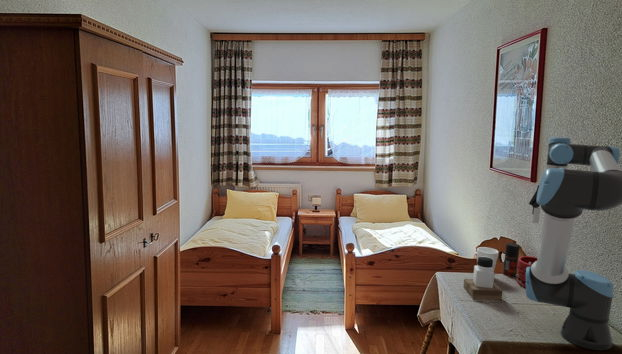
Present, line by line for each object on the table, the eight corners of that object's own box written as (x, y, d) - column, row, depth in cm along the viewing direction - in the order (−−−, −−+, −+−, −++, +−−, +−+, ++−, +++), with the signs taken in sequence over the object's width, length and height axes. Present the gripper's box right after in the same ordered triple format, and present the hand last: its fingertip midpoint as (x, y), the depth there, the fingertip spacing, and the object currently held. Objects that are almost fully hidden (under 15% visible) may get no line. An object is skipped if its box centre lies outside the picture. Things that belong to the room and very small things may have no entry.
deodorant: (501, 274, 215) (504, 244, 213) (504, 271, 220) (507, 242, 218) (514, 277, 212) (518, 247, 210) (517, 274, 217) (520, 244, 214)
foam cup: (473, 272, 217) (475, 246, 215) (493, 274, 216) (496, 248, 214) (476, 279, 208) (479, 252, 206) (497, 281, 206) (500, 254, 204)
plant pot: (513, 287, 200) (516, 261, 199) (517, 278, 212) (520, 253, 210) (546, 294, 194) (549, 267, 192) (548, 284, 205) (551, 259, 203)
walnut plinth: (501, 300, 185) (502, 291, 185) (472, 298, 186) (473, 289, 185) (490, 288, 197) (491, 280, 197) (463, 287, 197) (464, 278, 197)
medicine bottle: (493, 288, 187) (496, 261, 185) (475, 286, 188) (478, 259, 186) (490, 282, 194) (492, 256, 192) (472, 280, 195) (475, 254, 193)
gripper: (591, 180, 170) (583, 234, 173) (537, 171, 193) (531, 219, 196) (576, 180, 167) (569, 235, 170) (523, 171, 190) (518, 220, 193)
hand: (549, 227), depth 183 cm, fingers open, 13 cm apart
